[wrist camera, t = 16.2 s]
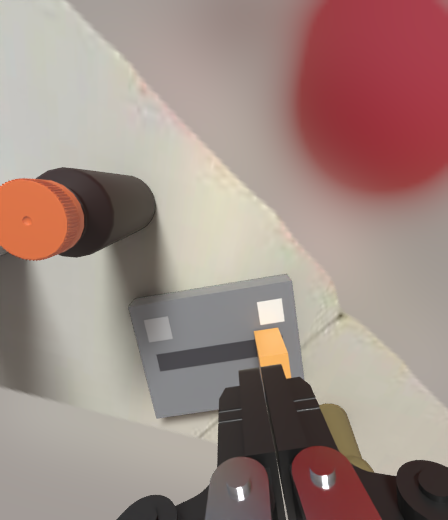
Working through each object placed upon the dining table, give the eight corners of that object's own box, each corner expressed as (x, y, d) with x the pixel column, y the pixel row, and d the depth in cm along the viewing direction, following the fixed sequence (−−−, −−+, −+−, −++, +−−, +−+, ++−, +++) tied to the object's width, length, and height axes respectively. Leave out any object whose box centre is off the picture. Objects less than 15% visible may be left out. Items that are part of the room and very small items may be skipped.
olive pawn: (333, 445, 46) (367, 523, 35) (298, 429, 45) (321, 504, 34) (355, 414, 45) (397, 485, 34) (320, 397, 44) (350, 464, 33)
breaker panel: (161, 403, 44) (156, 418, 41) (135, 298, 41) (128, 307, 38) (300, 382, 43) (306, 396, 40) (286, 273, 40) (291, 280, 37)
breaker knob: (259, 367, 39) (265, 398, 33) (253, 331, 38) (259, 357, 32) (283, 363, 39) (293, 394, 33) (278, 327, 38) (287, 352, 32)
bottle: (88, 200, 38) (-55, 212, 18) (129, 163, 37) (23, 135, 17) (127, 242, 39) (30, 297, 19) (167, 208, 38) (108, 229, 19)
